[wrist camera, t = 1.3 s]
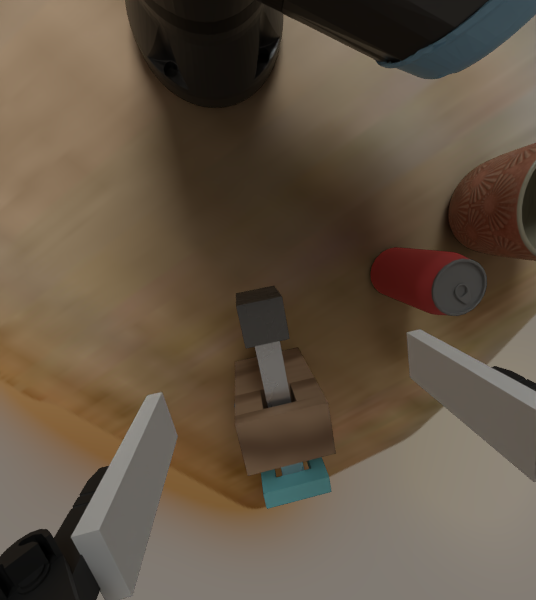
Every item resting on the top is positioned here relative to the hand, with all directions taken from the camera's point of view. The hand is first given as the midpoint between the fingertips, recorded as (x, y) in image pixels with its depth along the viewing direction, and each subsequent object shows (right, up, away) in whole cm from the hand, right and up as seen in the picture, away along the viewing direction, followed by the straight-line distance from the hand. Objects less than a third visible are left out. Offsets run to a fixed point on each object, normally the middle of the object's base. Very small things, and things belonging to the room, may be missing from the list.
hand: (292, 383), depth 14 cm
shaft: (-1, -5, +17) cm, 18 cm away
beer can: (+16, +8, +23) cm, 29 cm away
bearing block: (-1, -6, +25) cm, 25 cm away
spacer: (+1, -14, +21) cm, 25 cm away
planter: (+27, +17, +23) cm, 39 cm away
